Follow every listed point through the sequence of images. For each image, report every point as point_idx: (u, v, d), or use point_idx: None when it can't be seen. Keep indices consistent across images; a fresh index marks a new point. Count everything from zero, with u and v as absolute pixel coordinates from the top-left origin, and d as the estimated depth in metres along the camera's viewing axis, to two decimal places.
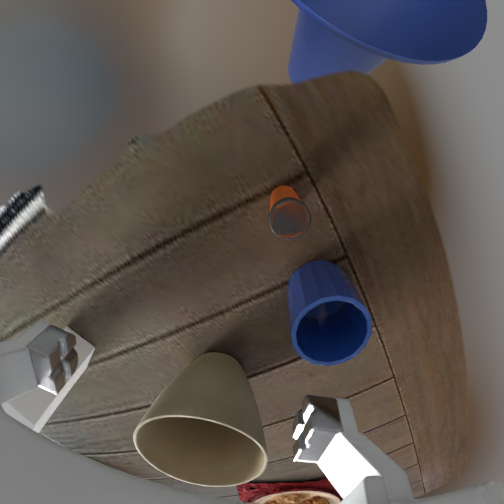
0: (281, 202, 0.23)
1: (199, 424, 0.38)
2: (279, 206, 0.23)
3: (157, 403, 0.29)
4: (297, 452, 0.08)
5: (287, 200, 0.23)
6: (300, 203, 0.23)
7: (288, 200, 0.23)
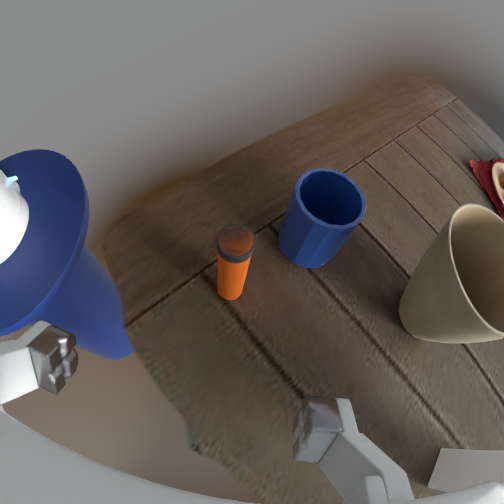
0: (222, 249, 0.25)
1: (475, 302, 0.32)
2: (226, 250, 0.25)
3: (465, 328, 0.23)
4: (297, 452, 0.08)
5: (219, 245, 0.26)
6: (219, 234, 0.26)
7: (219, 244, 0.26)
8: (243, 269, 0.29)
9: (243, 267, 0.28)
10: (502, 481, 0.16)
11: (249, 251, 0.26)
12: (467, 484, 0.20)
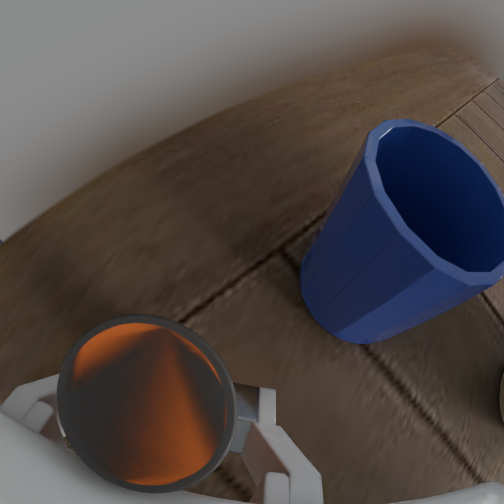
0: (76, 446, 0.04)
1: None
2: (92, 453, 0.04)
3: None
4: None
5: (63, 422, 0.04)
6: (65, 367, 0.04)
7: (62, 418, 0.04)
8: None
9: None
10: None
11: (206, 468, 0.04)
12: None
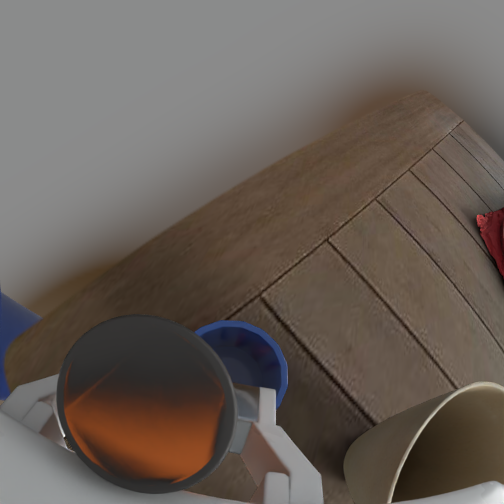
0: (76, 447, 0.04)
1: (446, 461, 0.21)
2: (92, 454, 0.04)
3: None
4: None
5: (63, 422, 0.04)
6: (64, 368, 0.04)
7: (62, 418, 0.04)
8: None
9: None
10: None
11: (206, 468, 0.04)
12: None
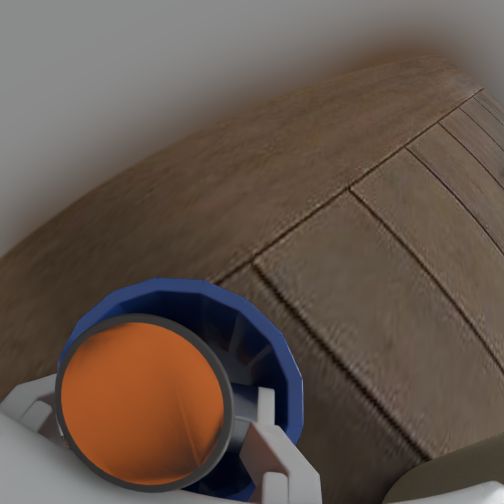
0: (73, 445, 0.04)
1: None
2: (90, 453, 0.04)
3: None
4: None
5: (61, 421, 0.04)
6: (63, 367, 0.04)
7: (60, 417, 0.04)
8: None
9: None
10: None
11: (203, 467, 0.04)
12: None
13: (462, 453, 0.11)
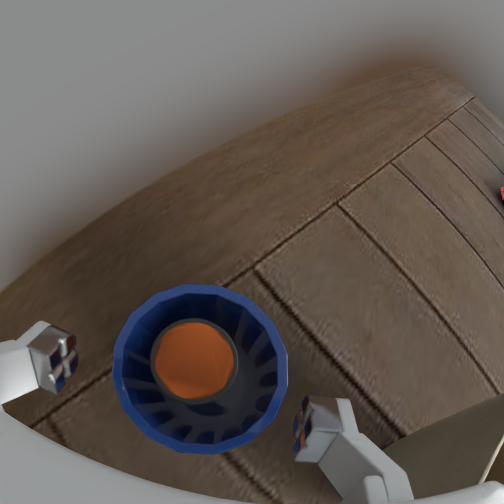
0: (160, 384, 0.10)
1: (490, 476, 0.13)
2: (169, 386, 0.10)
3: None
4: (297, 452, 0.08)
5: (153, 372, 0.10)
6: (155, 345, 0.10)
7: (153, 370, 0.10)
8: None
9: None
10: None
11: (223, 388, 0.10)
12: None
13: (426, 427, 0.15)
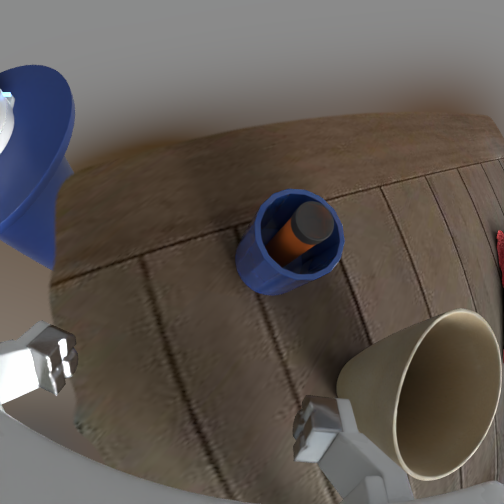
0: (298, 225, 0.23)
1: (425, 403, 0.28)
2: (302, 227, 0.23)
3: (382, 449, 0.19)
4: (297, 452, 0.08)
5: (296, 219, 0.23)
6: (300, 207, 0.23)
7: (296, 218, 0.23)
8: (305, 250, 0.26)
9: (307, 248, 0.25)
10: None
11: (325, 237, 0.23)
12: None
13: None
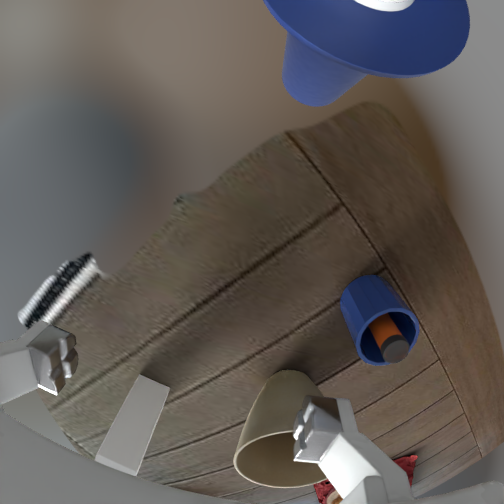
0: (391, 343, 0.29)
1: (281, 435, 0.43)
2: (390, 346, 0.29)
3: (251, 426, 0.34)
4: (297, 452, 0.08)
5: (395, 341, 0.29)
6: (403, 341, 0.29)
7: (395, 341, 0.29)
8: (377, 342, 0.33)
9: (378, 345, 0.33)
10: (125, 434, 0.36)
11: (386, 360, 0.30)
12: (132, 406, 0.41)
13: None
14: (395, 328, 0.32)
